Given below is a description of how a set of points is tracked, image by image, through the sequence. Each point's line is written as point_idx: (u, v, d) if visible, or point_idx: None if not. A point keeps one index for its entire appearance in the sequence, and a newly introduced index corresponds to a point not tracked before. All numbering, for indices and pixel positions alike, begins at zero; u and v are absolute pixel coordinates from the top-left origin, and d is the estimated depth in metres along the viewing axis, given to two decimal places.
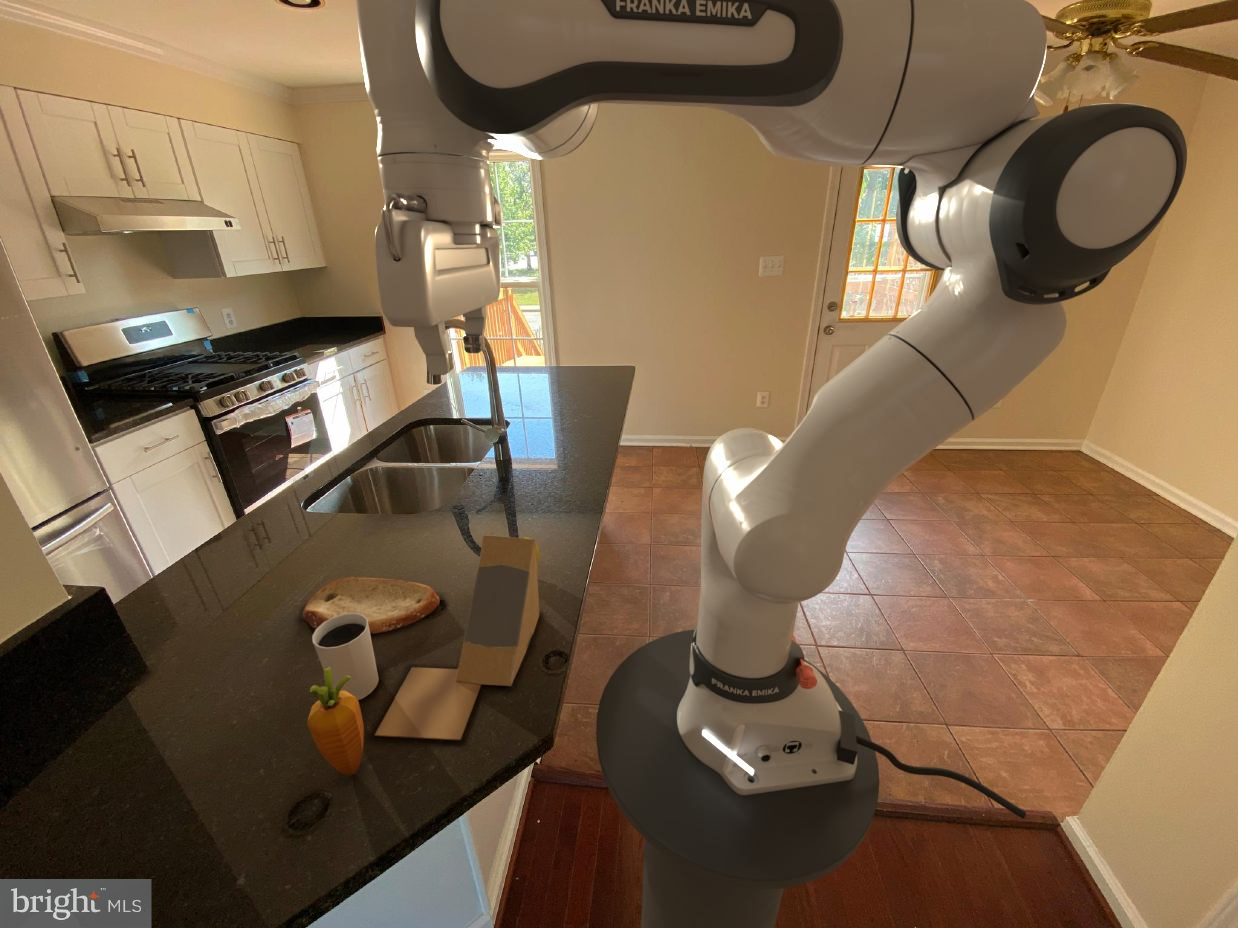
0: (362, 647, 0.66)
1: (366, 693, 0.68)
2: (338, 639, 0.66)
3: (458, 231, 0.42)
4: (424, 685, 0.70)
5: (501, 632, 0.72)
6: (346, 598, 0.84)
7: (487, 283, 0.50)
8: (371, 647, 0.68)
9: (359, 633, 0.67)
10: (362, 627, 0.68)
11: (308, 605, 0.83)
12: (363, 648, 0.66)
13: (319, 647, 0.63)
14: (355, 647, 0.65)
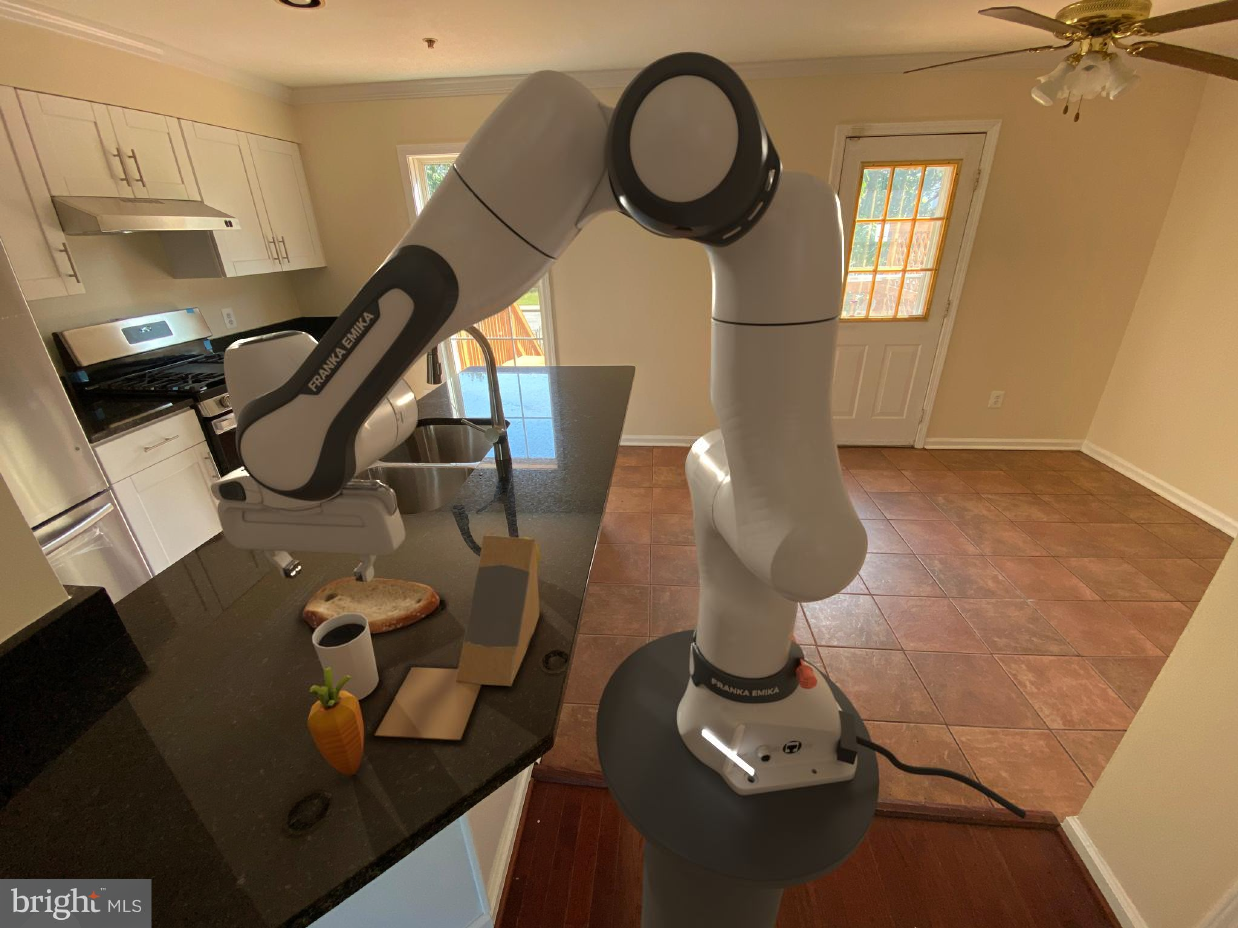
0: (362, 647, 0.66)
1: (366, 693, 0.68)
2: (338, 639, 0.66)
3: None
4: (424, 685, 0.70)
5: (501, 632, 0.72)
6: (346, 598, 0.84)
7: None
8: (371, 647, 0.68)
9: (359, 633, 0.67)
10: (362, 627, 0.68)
11: (308, 605, 0.83)
12: (363, 648, 0.66)
13: (319, 647, 0.63)
14: (355, 647, 0.65)
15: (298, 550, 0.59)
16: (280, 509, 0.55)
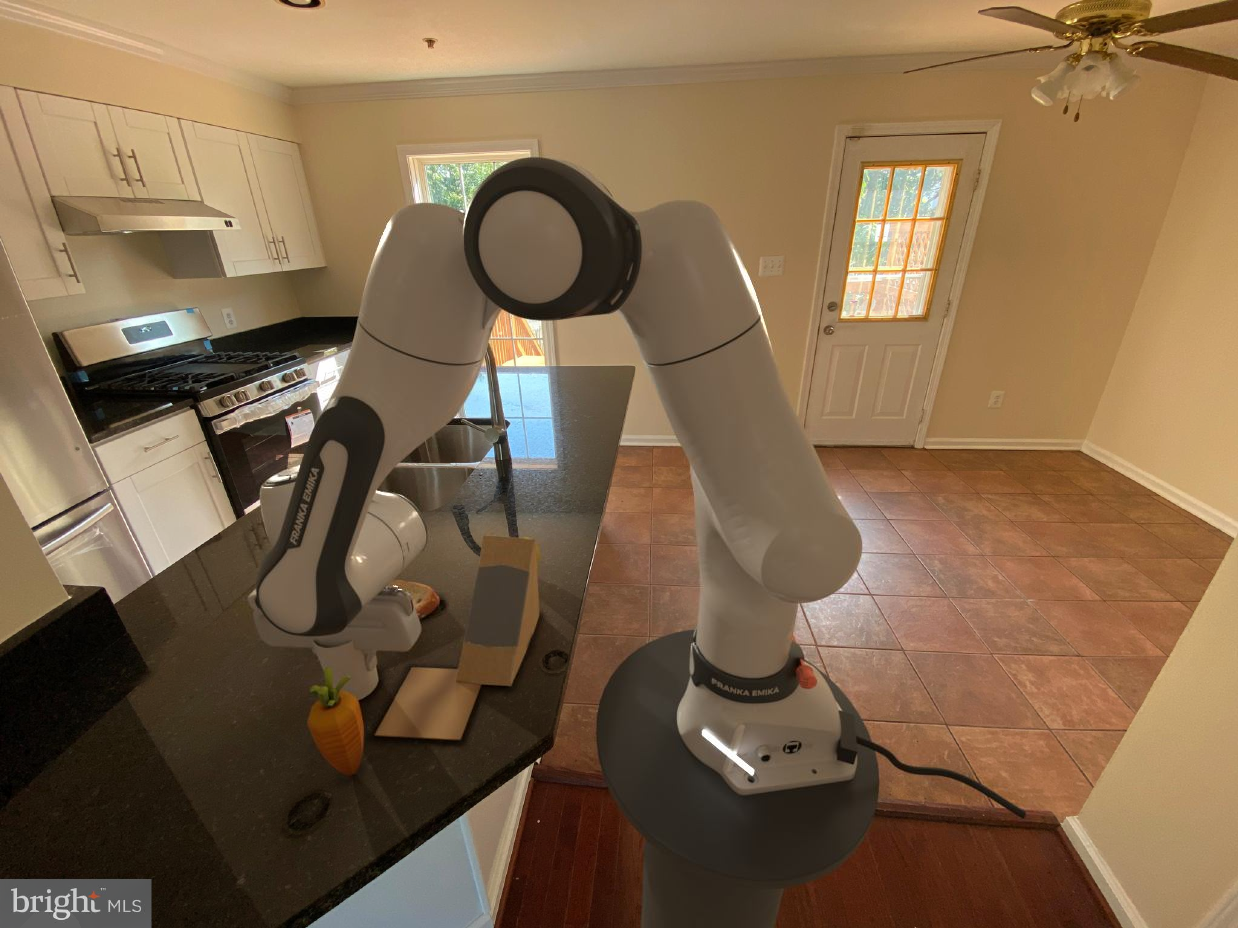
0: None
1: (366, 693, 0.68)
2: None
3: None
4: (424, 685, 0.70)
5: (501, 632, 0.72)
6: None
7: None
8: None
9: None
10: None
11: None
12: None
13: (318, 647, 0.63)
14: (354, 648, 0.65)
15: (325, 647, 0.65)
16: None
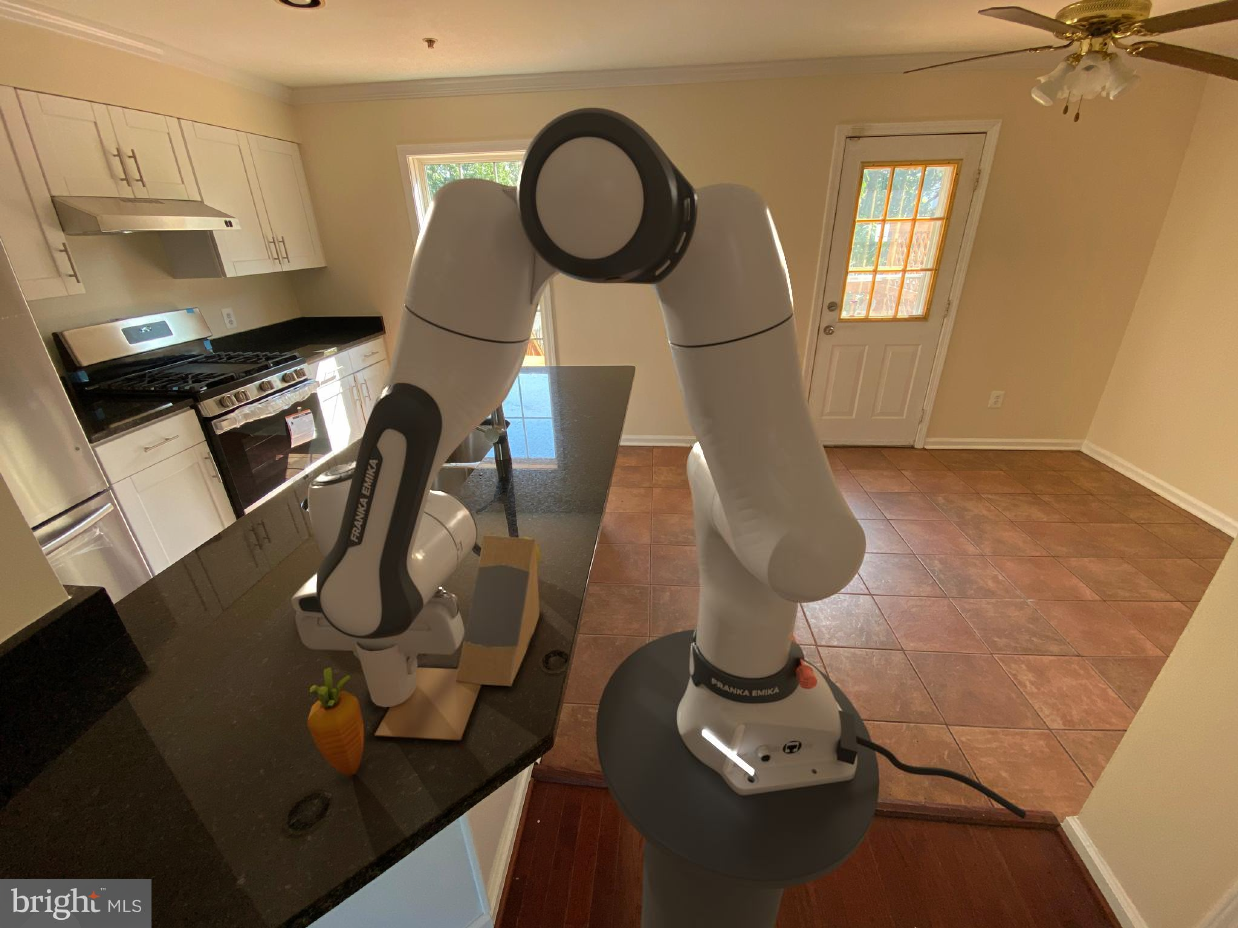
0: None
1: (405, 698, 0.67)
2: None
3: None
4: (424, 685, 0.70)
5: (501, 632, 0.72)
6: None
7: None
8: None
9: None
10: None
11: None
12: None
13: (362, 650, 0.62)
14: (398, 652, 0.63)
15: (367, 650, 0.63)
16: None
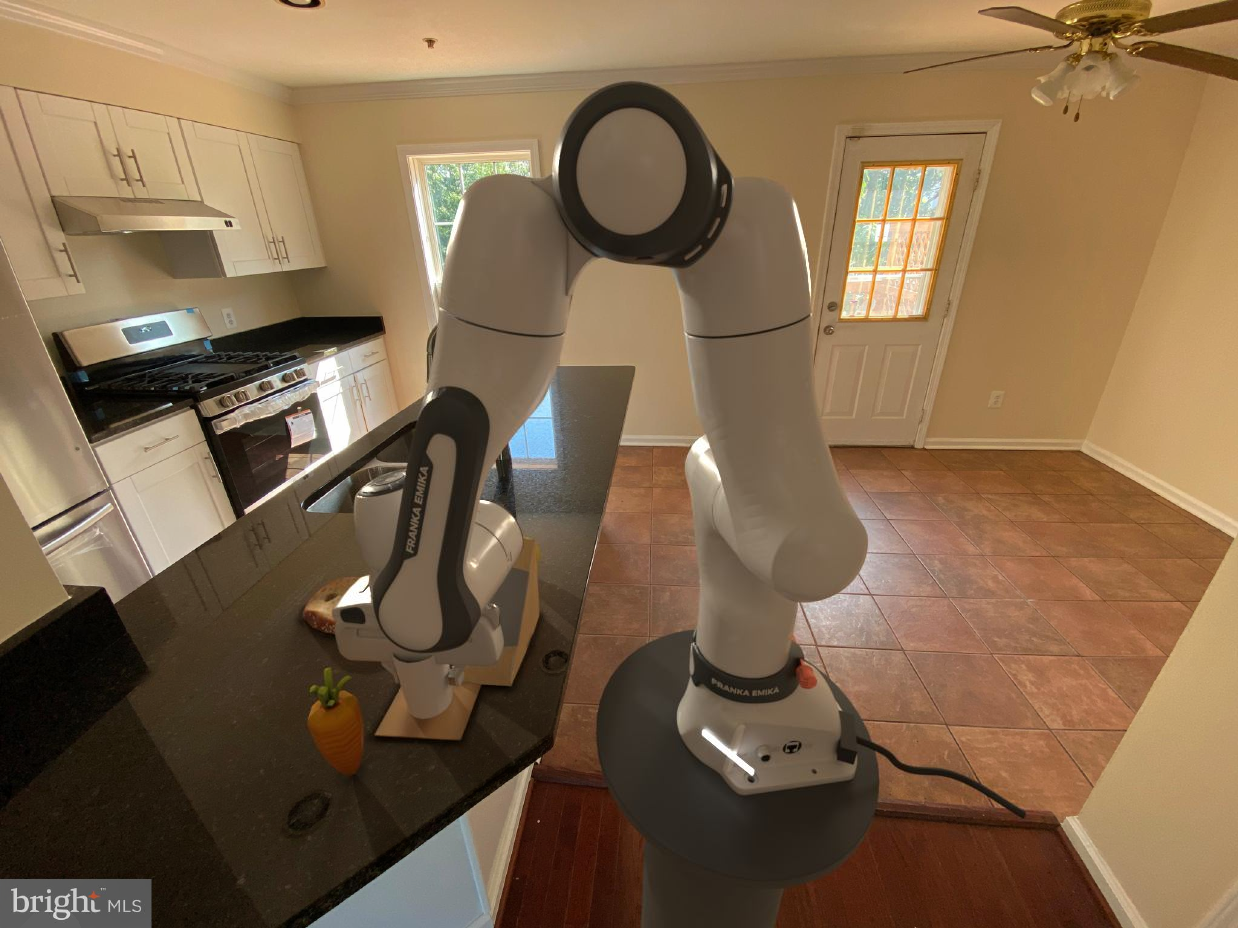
0: None
1: (442, 709, 0.66)
2: None
3: None
4: None
5: None
6: None
7: None
8: None
9: None
10: None
11: (308, 605, 0.83)
12: None
13: (400, 662, 0.61)
14: (435, 663, 0.62)
15: (406, 661, 0.62)
16: None
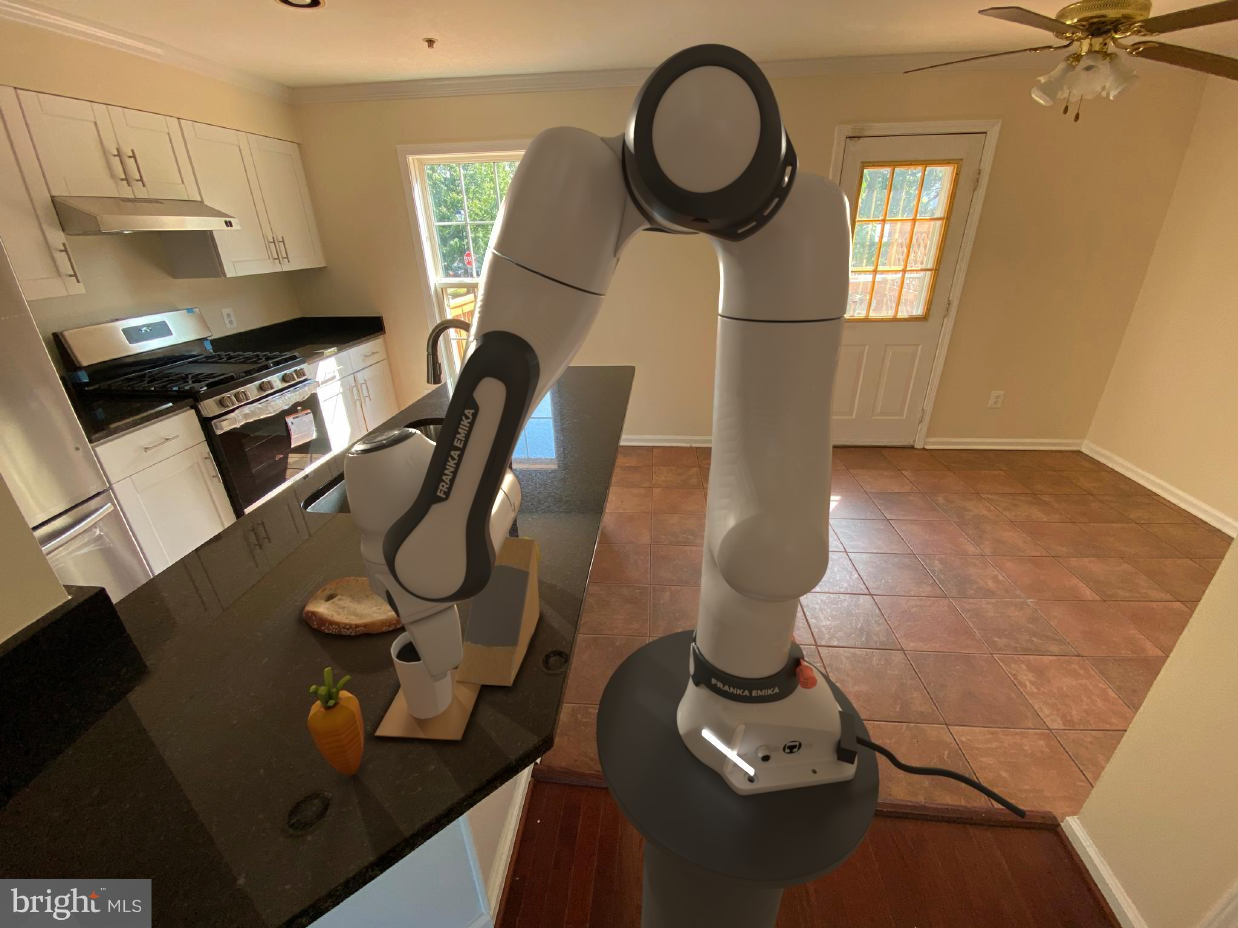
0: None
1: (442, 709, 0.66)
2: (416, 654, 0.64)
3: None
4: None
5: (501, 632, 0.72)
6: (346, 598, 0.84)
7: (416, 643, 0.56)
8: None
9: None
10: None
11: (308, 605, 0.83)
12: None
13: (400, 662, 0.61)
14: None
15: None
16: None
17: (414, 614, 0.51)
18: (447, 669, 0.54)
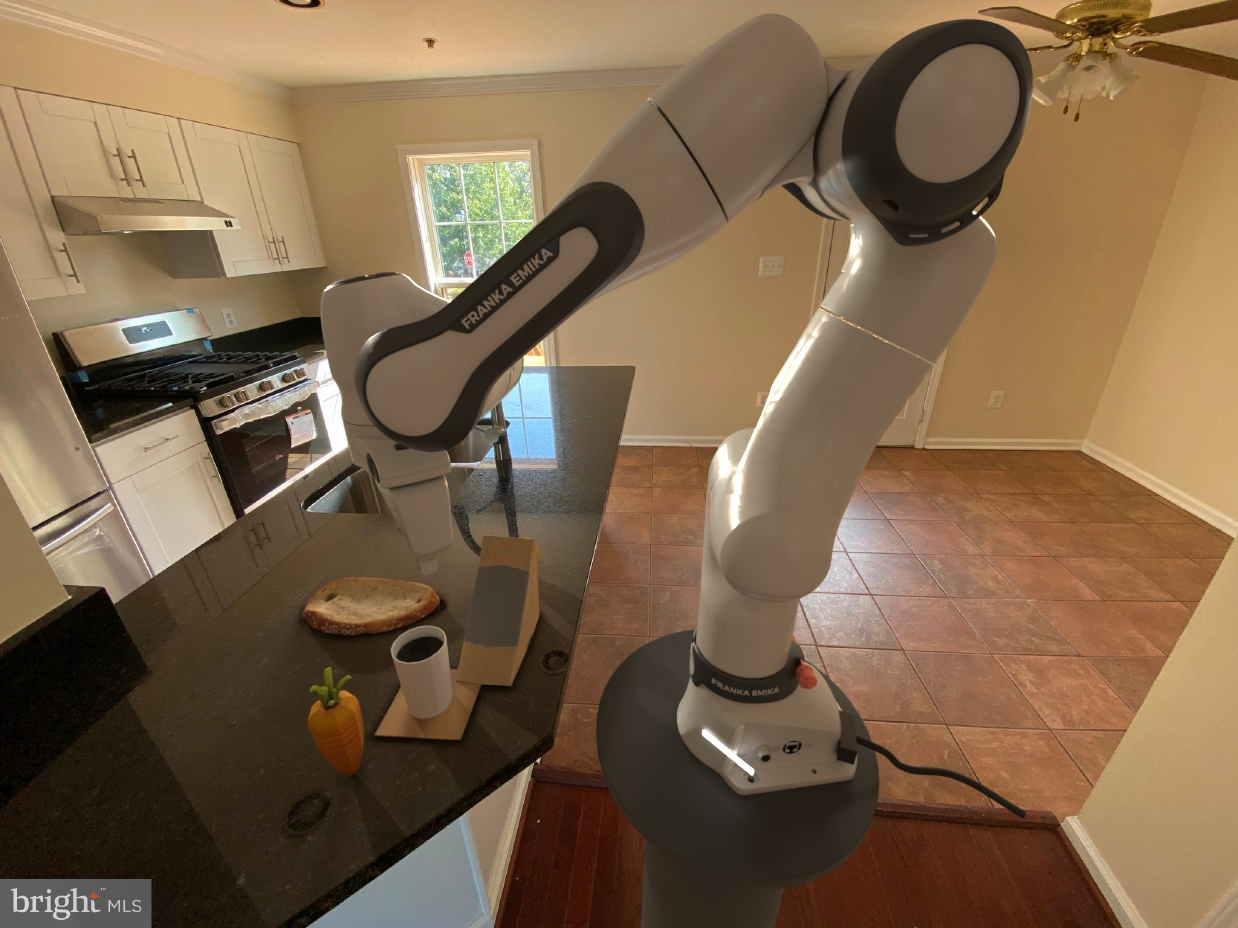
0: (441, 662, 0.63)
1: (442, 709, 0.66)
2: (416, 654, 0.64)
3: None
4: None
5: (501, 632, 0.72)
6: (346, 598, 0.84)
7: None
8: (448, 661, 0.66)
9: (436, 647, 0.65)
10: (439, 640, 0.66)
11: (308, 605, 0.83)
12: (442, 663, 0.63)
13: (400, 662, 0.61)
14: (435, 662, 0.62)
15: None
16: None
17: (396, 477, 0.45)
18: (434, 549, 0.48)
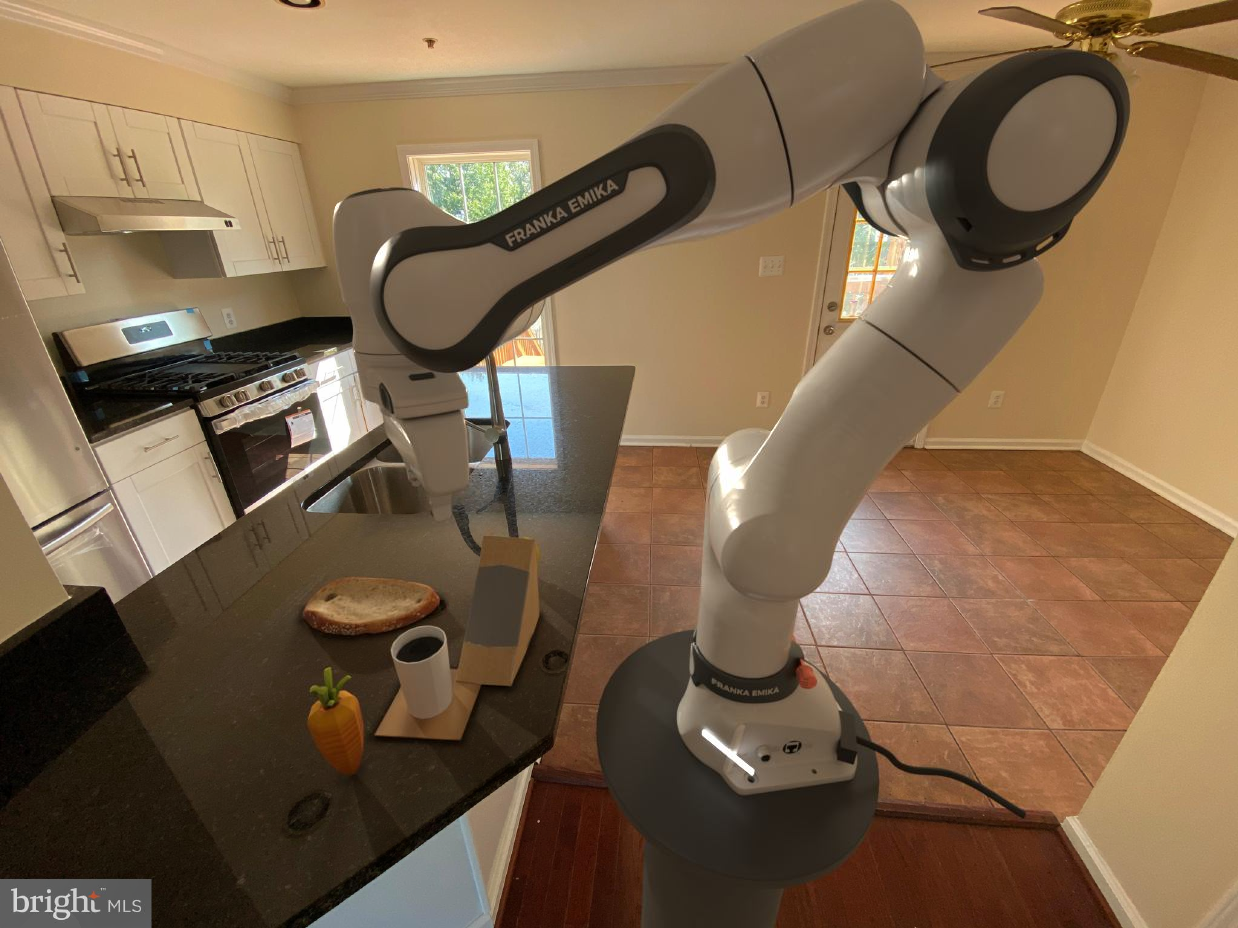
0: (441, 662, 0.63)
1: (442, 709, 0.66)
2: (416, 654, 0.64)
3: None
4: None
5: (501, 632, 0.72)
6: (346, 598, 0.84)
7: (414, 462, 0.47)
8: (448, 661, 0.66)
9: (436, 647, 0.65)
10: (439, 640, 0.66)
11: (308, 605, 0.83)
12: (442, 663, 0.63)
13: (400, 662, 0.61)
14: (435, 662, 0.62)
15: None
16: None
17: (411, 407, 0.42)
18: (450, 488, 0.45)
